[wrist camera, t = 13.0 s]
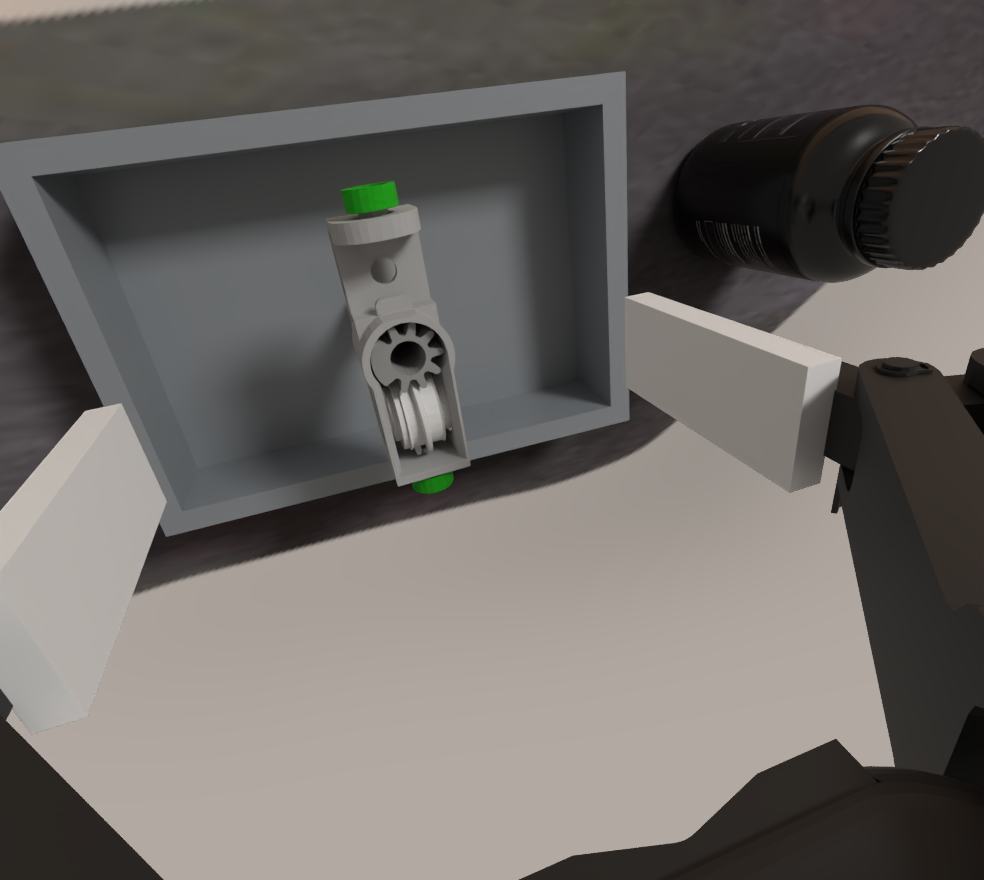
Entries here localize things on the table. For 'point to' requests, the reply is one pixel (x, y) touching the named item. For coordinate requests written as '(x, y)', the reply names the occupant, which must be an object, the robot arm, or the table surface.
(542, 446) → the table surface
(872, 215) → the supplement bottle
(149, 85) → the table surface
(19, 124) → the table surface
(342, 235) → the mechanical component
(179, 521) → the bin
